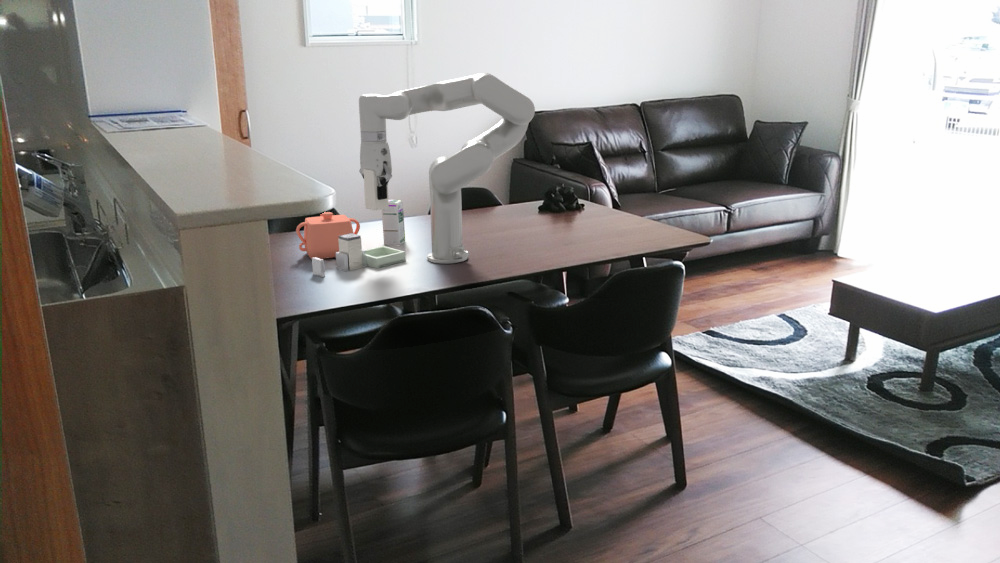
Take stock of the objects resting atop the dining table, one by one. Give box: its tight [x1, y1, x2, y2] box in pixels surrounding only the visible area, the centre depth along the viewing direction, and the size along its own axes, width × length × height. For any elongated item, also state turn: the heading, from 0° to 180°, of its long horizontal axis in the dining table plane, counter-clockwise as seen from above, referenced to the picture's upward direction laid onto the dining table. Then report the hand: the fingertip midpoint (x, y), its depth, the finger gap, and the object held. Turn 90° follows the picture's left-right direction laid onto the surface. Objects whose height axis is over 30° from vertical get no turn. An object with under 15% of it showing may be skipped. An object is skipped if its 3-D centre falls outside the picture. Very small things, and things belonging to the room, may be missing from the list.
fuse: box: [363, 169, 389, 212], centre depth 239 cm, size 5×5×12 cm
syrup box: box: [381, 199, 406, 246], centre depth 265 cm, size 6×6×14 cm
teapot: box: [295, 211, 361, 260], centre depth 255 cm, size 20×19×14 cm
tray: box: [364, 245, 407, 269], centre depth 245 cm, size 11×11×3 cm
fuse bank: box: [311, 232, 367, 278], centre depth 235 cm, size 5×16×10 cm, turn 135°
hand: (376, 197), depth 240 cm, fingers closed on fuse, 5 cm apart
